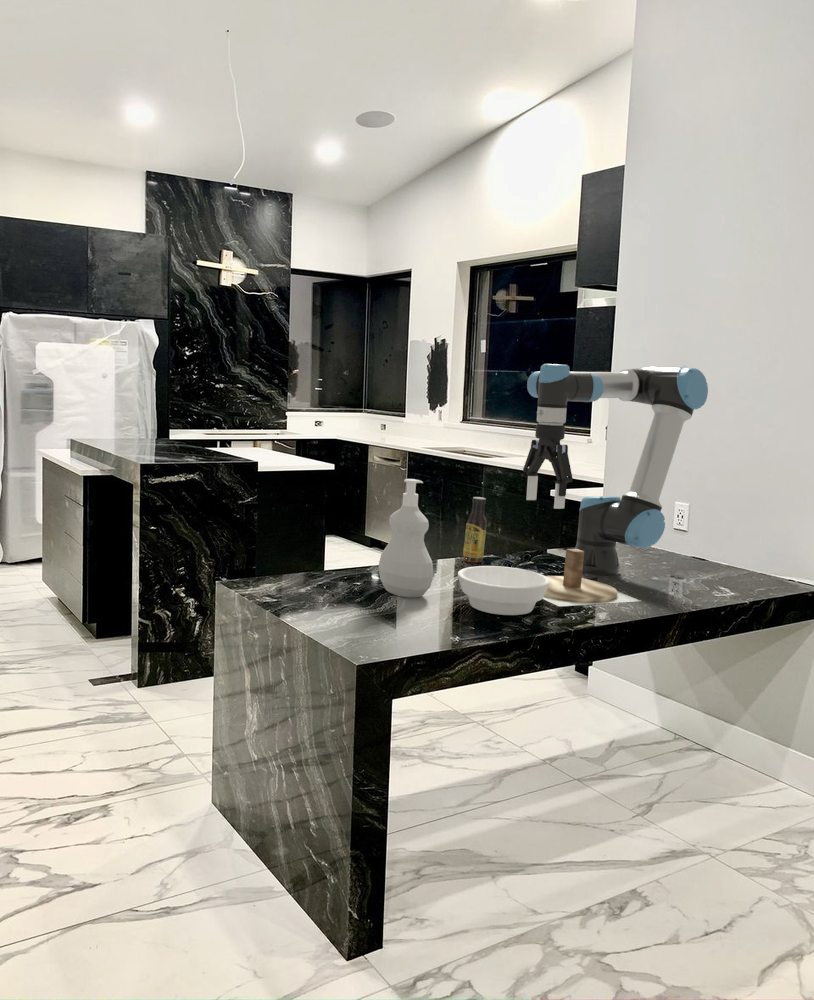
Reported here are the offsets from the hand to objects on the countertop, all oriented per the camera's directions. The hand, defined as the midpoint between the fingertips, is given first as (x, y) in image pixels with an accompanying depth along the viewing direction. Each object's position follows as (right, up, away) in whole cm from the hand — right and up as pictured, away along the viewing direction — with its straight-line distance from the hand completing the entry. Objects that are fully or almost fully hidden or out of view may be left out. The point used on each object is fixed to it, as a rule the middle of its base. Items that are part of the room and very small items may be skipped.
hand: (544, 504), depth 228 cm
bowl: (-13, -26, -17) cm, 34 cm away
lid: (+8, -23, +4) cm, 25 cm away
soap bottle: (-37, -23, -8) cm, 45 cm away
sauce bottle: (-16, -18, +37) cm, 44 cm away
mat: (+8, -24, +4) cm, 26 cm away
